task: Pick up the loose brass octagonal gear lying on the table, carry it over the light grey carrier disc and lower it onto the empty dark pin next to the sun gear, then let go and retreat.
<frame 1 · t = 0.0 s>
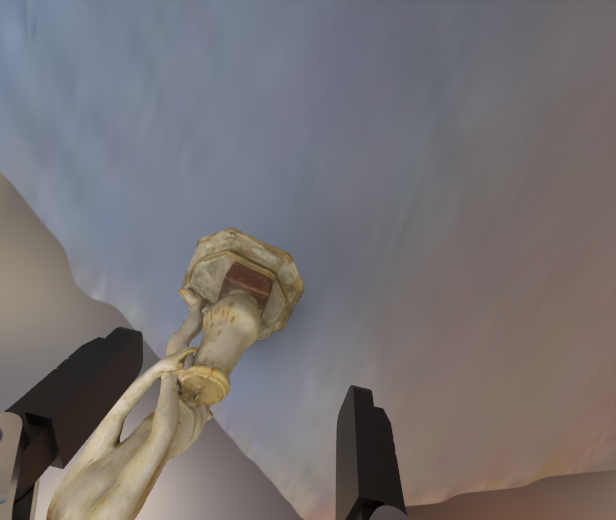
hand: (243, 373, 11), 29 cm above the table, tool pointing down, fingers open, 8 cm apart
statue: (241, 287, 45), on the table
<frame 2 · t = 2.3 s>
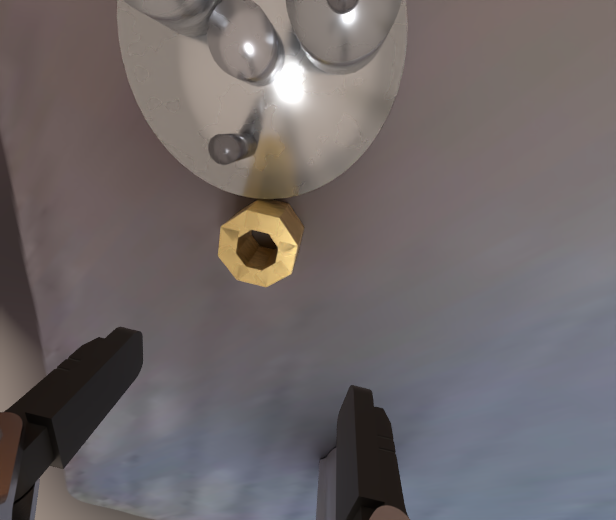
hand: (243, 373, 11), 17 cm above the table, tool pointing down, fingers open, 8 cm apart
planet gear: (269, 232, 27), on the table
carrier: (261, 58, 21), on the table
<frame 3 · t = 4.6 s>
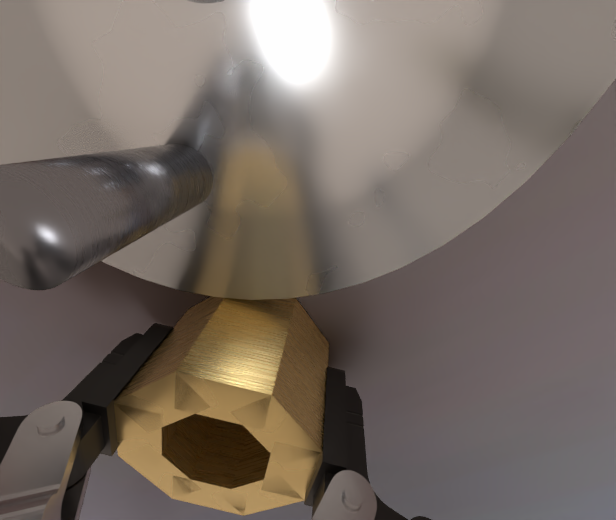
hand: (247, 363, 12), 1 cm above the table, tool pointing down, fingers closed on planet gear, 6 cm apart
planet gear: (254, 348, 13), on the table, touching gripper
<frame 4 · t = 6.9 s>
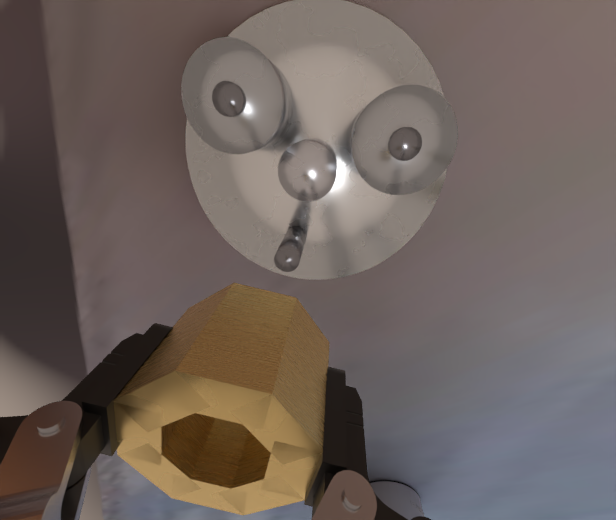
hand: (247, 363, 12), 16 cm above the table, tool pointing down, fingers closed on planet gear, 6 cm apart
planet gear: (254, 348, 13), point 15 cm above the table, touching gripper
carrier: (313, 162, 24), on the table
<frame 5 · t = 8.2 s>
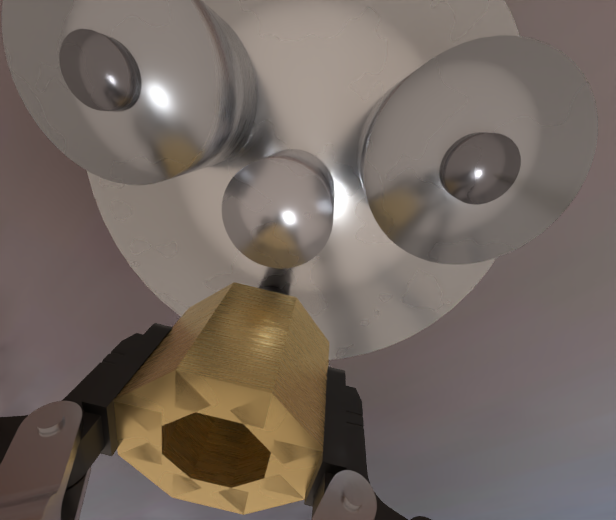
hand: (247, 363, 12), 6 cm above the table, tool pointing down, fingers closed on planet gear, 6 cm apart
planet gear: (254, 347, 13), point 5 cm above the table, touching gripper
carrier: (297, 187, 15), on the table
when the fingers open (4 cm above the table, at t = 9.2 s): planet gear drops 1 cm, resting on carrier.
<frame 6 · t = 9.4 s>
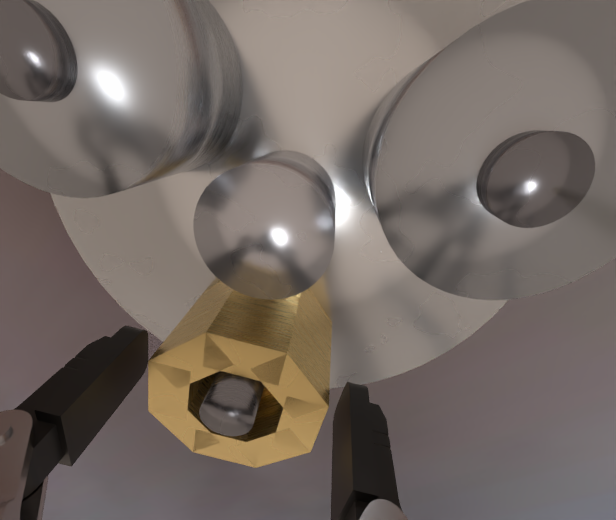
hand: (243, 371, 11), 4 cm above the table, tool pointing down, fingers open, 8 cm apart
planet gear: (264, 326, 14), point 1 cm above the table, touching carrier
carrier: (291, 195, 13), on the table
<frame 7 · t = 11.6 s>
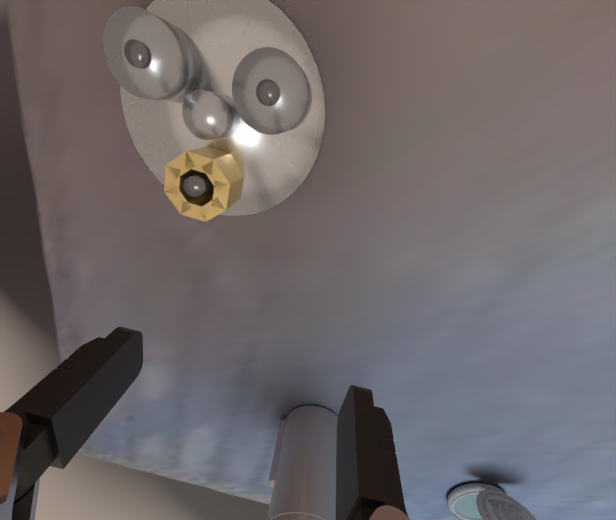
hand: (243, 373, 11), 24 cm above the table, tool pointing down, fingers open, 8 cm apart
planet gear: (215, 179, 31), point 1 cm above the table, touching carrier
carrier: (225, 115, 30), on the table
pocket watch: (475, 494, 53), on the table
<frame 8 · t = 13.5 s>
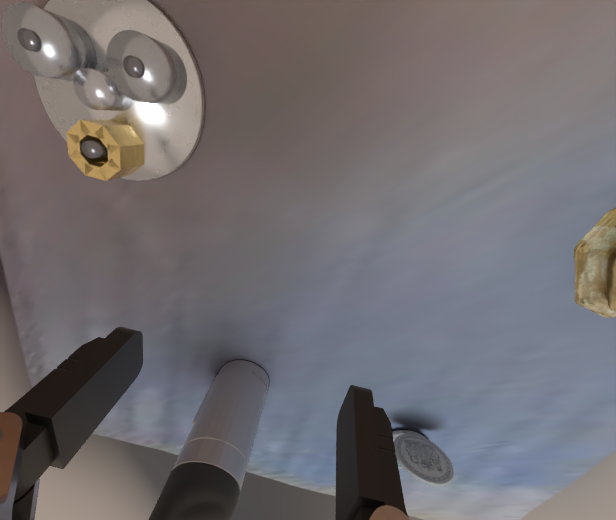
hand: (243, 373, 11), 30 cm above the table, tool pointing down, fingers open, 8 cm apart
planet gear: (120, 148, 37), point 1 cm above the table, touching carrier
carrier: (124, 93, 35), on the table
pocket watch: (403, 442, 57), on the table
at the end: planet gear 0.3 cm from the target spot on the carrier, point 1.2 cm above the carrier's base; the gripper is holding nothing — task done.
